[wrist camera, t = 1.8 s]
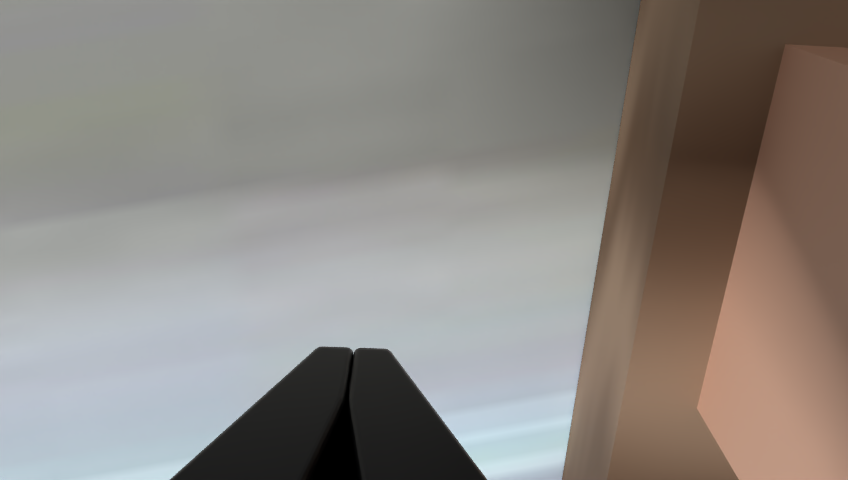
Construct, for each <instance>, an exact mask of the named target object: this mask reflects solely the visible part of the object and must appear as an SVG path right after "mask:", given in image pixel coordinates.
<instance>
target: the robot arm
mask: <svg viewBox="0 0 848 480" xmlns="http://www.w3.org/2000/svg"><path fill="white" fill-rule="evenodd" d="M170 480H487V479H486V478H485V476H484V475H483V474H482V472H481V471H480V470H479V468H478V467H477V466H476V464H475V463H474V462H473V460H472V459H471V458H470V456H469V455H468V454H467V452H466V451H465V450H464V448H463V447H462V446H461V444H460V443H459V442H458V440H457V439H456V438H455V436H454V435H453V434H452V432H451V431H450V430H449V428H448V427H447V426H446V424H445V423H444V422H443V420H442V419H441V418H440V416H439V415H438V414H437V412H436V411H435V410H434V408H433V407H432V406H431V404H430V403H429V402H428V401H427V399H426V398H425V397H424V395H423V394H422V393H421V391H420V390H419V389H418V387H417V386H416V385H415V383H414V382H413V381H412V379H411V378H410V377H409V375H408V374H407V373H406V371H405V370H404V369H403V367H402V366H401V365H400V363H399V362H398V361H397V359H396V358H395V357H394V355H393V354H392V353H391V352H390V351H389V350H388V349H377V348H358V349H356V350H355V352H354V355H353V351H352V350H351V349H350V348H347V347H318V348H317V349H315V350H314V351H313V352H312V353H311V354H310V355H309V356H307V357H306V358H305V359H304V360H303V361H302V362H301V363H300V364H298V365H297V366H296V367H295V368H294V369H293V370H292V371H291V372H290V373H288V374H287V375H286V376H285V377H284V378H283V379H282V380H281V381H280V382H278V383H277V384H276V385H275V386H274V387H273V388H272V389H271V390H269V391H268V392H267V393H266V394H265V395H264V396H263V397H262V398H261V399H259V400H258V401H257V402H256V403H255V404H254V405H253V406H252V407H250V408H249V409H248V410H247V411H246V412H245V413H244V414H243V415H242V416H240V417H239V418H238V419H237V420H236V421H235V422H234V423H233V424H232V425H230V426H229V427H228V428H227V429H226V430H225V431H224V432H223V433H221V434H220V435H219V436H218V437H217V438H216V439H215V440H214V441H213V442H211V443H210V444H209V445H208V446H207V447H206V448H205V449H204V450H202V451H201V452H200V453H199V454H198V455H197V456H196V457H195V458H194V459H192V460H191V461H190V462H189V463H188V464H187V465H186V466H185V467H184V468H182V469H181V470H180V471H179V472H178V473H177V474H176V475H175V476H173V477H172V478H171V479H170Z"/></svg>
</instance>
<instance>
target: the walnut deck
mask: <svg viewBox="0 0 848 480" xmlns="http://www.w3.org/2000/svg"><path fill="white" fill-rule="evenodd" d="M785 44H790V45H808V46H826V47H844V48H848V0H641V3H640V9H639V15H638V21H637V27H636V33H635V39H634V45H633V51H632V57H631V64H630V70H629V76H628V82H627V88H626V94H625V100H624V106H623V112H622V118H621V124H620V130H619V137H618V143H617V149H616V155H615V161H614V167H613V173H612V179H611V185H610V191H609V197H608V203H607V209H606V216H605V222H604V228H603V234H602V240H601V246H600V252H599V258H598V264H597V270H596V276H595V282H594V288H593V295H592V301H591V307H590V313H589V319H588V325H587V331H586V337H585V343H584V349H583V355H582V361H581V367H580V374H579V380H578V386H577V392H576V398H575V404H574V410H573V416H572V422H571V428H570V434H569V440H568V446H567V453H566V459H565V465H564V471H563V477H562V480H739V479H738V477H737V476H736V474H735V472H734V471H733V469H732V467H731V466H730V464H729V462H728V460H727V459H726V457H725V455H724V454H723V452H722V450H721V449H720V447H719V445H718V444H717V442H716V440H715V438H714V437H713V435H712V433H711V432H710V430H709V428H708V427H707V425H706V423H705V421H704V420H703V418H702V416H701V415H700V413H699V411H698V410H697V406H698V402H699V398H700V394H701V389H702V385H703V381H704V377H705V373H706V369H707V365H708V361H709V356H710V352H711V348H712V344H713V340H714V336H715V332H716V328H717V323H718V319H719V315H720V311H721V307H722V303H723V299H724V295H725V290H726V286H727V282H728V278H729V274H730V270H731V266H732V262H733V258H734V253H735V249H736V245H737V241H738V237H739V233H740V229H741V225H742V220H743V216H744V212H745V208H746V204H747V200H748V196H749V192H750V187H751V183H752V179H753V175H754V171H755V167H756V163H757V159H758V154H759V150H760V146H761V142H762V138H763V134H764V130H765V126H766V121H767V117H768V113H769V109H770V105H771V101H772V97H773V93H774V89H775V84H776V80H777V76H778V72H779V68H780V64H781V60H782V56H783V51H784V47H785Z"/></svg>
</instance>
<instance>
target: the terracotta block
mask: <svg viewBox="0 0 848 480" xmlns="http://www.w3.org/2000/svg"><path fill="white" fill-rule="evenodd" d="M697 410H698V411H699V413H700V415H701V416H702V418H703V420H704V421H705V423H706V425H707V427H708V428H709V430H710V432H711V433H712V435H713V437H714V438H715V440H716V442H717V444H718V445H719V447H720V449H721V450H722V452H723V454H724V455H725V457H726V459H727V460H728V462H729V464H730V466H731V467H732V469H733V471H734V472H735V474H736V476H737V477H738V479H739V480H848V48H844V47H826V46H808V45H790V44H785V47H784V51H783V56H782V60H781V64H780V68H779V72H778V76H777V80H776V84H775V89H774V93H773V97H772V101H771V105H770V109H769V113H768V117H767V121H766V126H765V130H764V134H763V138H762V142H761V146H760V150H759V154H758V159H757V163H756V167H755V171H754V175H753V179H752V183H751V187H750V192H749V196H748V200H747V204H746V208H745V212H744V216H743V220H742V225H741V229H740V233H739V237H738V241H737V245H736V249H735V253H734V258H733V262H732V266H731V270H730V274H729V278H728V282H727V286H726V290H725V295H724V299H723V303H722V307H721V311H720V315H719V319H718V323H717V328H716V332H715V336H714V340H713V344H712V348H711V352H710V356H709V361H708V365H707V369H706V373H705V377H704V381H703V385H702V389H701V394H700V398H699V402H698V406H697Z"/></svg>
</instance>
